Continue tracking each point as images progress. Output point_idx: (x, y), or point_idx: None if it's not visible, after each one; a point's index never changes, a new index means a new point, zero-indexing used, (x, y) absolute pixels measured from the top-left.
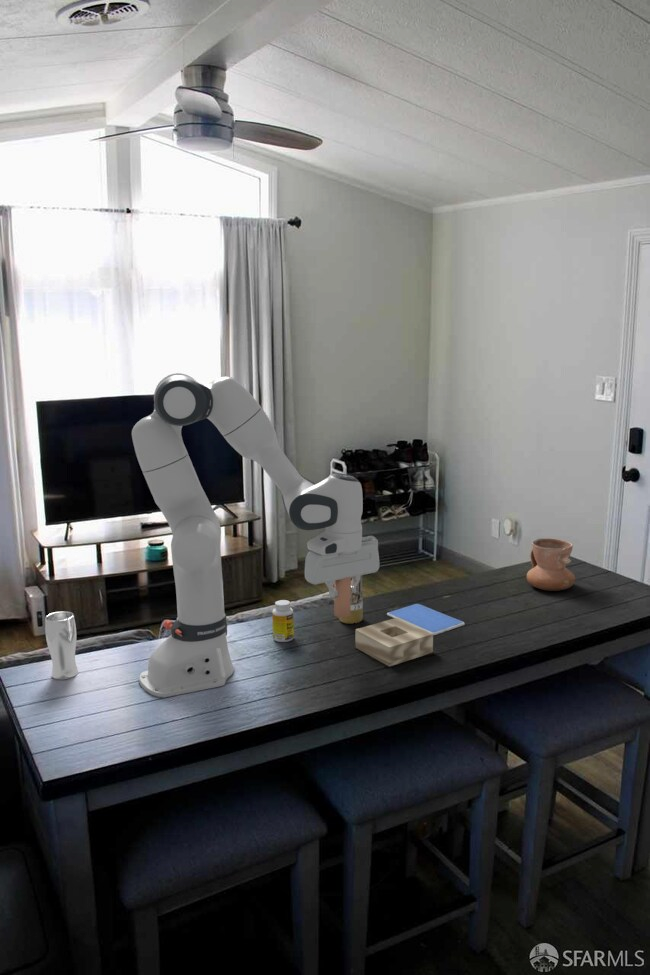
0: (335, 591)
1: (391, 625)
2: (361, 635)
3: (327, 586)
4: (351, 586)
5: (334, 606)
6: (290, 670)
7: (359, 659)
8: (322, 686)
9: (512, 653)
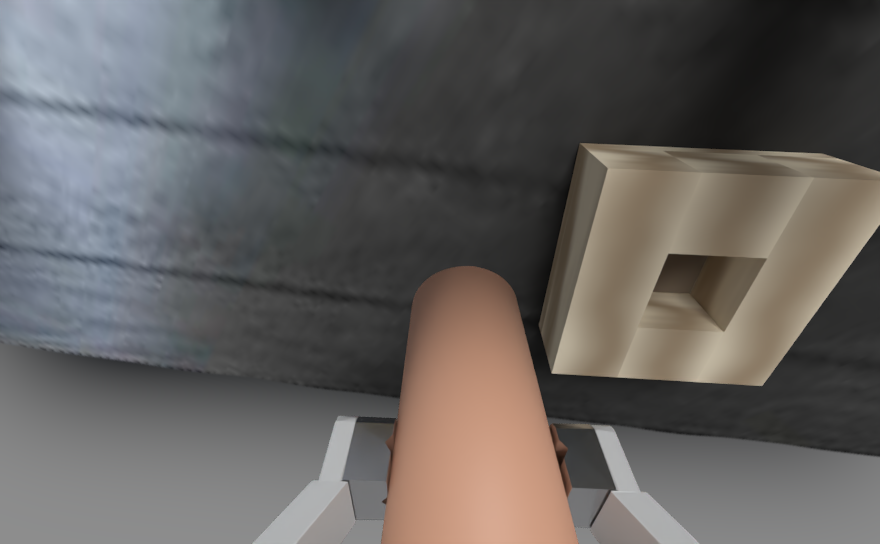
0: (359, 511)
1: (766, 241)
2: (589, 213)
3: (276, 525)
4: (579, 517)
5: (410, 335)
6: (243, 152)
7: (508, 235)
8: (299, 302)
9: (830, 441)
